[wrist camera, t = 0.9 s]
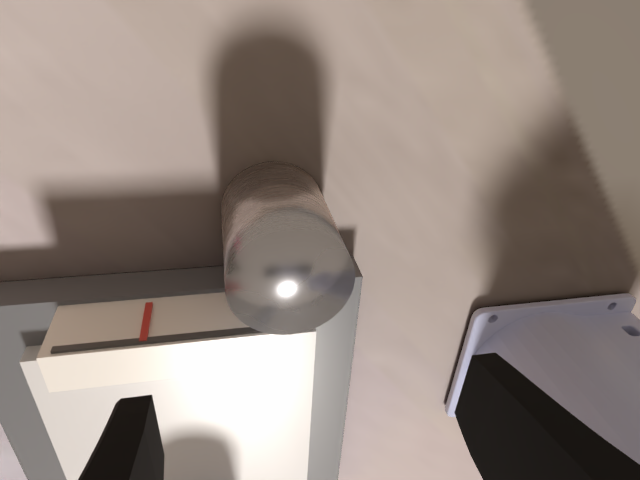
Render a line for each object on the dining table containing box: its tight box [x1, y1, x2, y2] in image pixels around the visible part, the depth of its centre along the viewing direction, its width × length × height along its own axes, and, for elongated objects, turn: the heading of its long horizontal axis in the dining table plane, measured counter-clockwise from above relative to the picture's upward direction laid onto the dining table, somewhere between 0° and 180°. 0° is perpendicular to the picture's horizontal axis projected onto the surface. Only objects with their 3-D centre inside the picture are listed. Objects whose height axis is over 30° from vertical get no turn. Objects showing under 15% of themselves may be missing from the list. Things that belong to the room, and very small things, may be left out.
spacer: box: [221, 162, 355, 335], centre depth 16 cm, size 4×4×5 cm
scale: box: [0, 257, 363, 480], centre depth 22 cm, size 15×17×4 cm
